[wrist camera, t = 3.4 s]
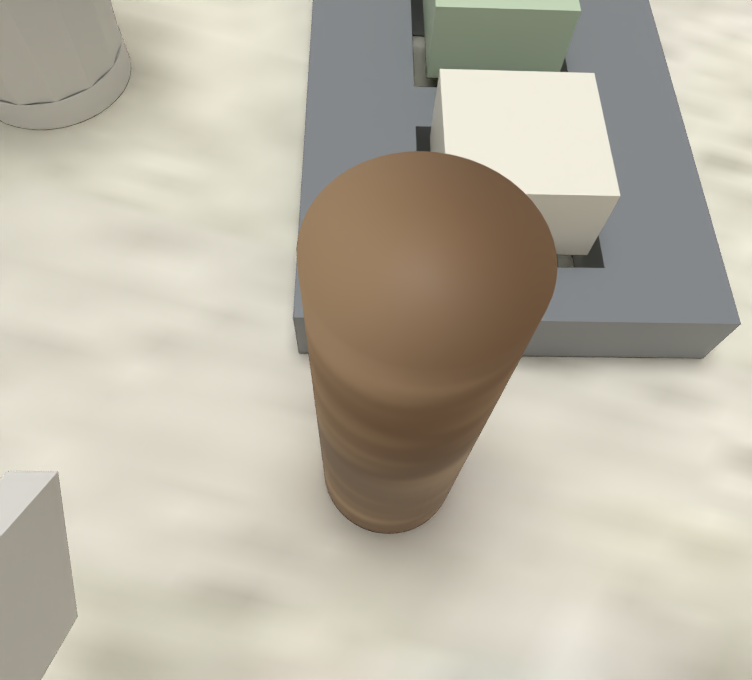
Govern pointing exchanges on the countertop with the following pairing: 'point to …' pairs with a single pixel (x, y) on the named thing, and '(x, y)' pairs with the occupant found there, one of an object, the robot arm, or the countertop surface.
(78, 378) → the countertop surface
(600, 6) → the keypad
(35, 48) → the cup
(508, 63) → the key mid
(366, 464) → the wooden pepper mill
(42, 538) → the robot arm
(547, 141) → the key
